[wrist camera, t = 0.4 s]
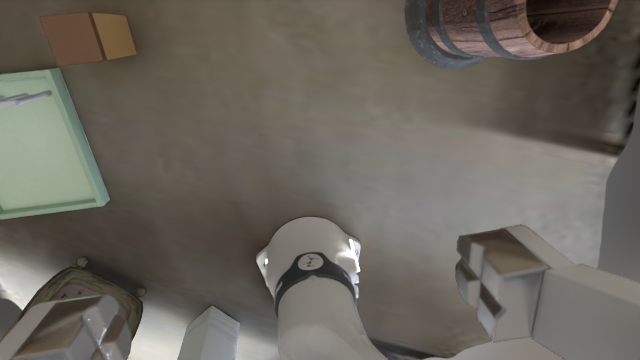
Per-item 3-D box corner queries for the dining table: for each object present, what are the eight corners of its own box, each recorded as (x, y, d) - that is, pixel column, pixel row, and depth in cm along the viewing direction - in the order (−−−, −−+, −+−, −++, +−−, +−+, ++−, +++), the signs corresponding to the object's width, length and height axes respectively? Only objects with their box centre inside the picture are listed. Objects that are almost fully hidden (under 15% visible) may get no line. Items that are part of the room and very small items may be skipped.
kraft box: (137, 55, 47) (103, 61, 38) (100, 58, 47) (57, 66, 37) (125, 15, 45) (87, 11, 36) (87, 18, 45) (38, 16, 35)
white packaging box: (186, 325, 66) (166, 387, 55) (212, 303, 65) (198, 362, 53) (215, 344, 69) (203, 407, 58) (241, 323, 68) (234, 383, 56)
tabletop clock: (157, 287, 62) (87, 436, 39) (130, 318, 64) (49, 477, 41) (78, 246, 57) (-54, 389, 34) (52, 281, 59) (-89, 438, 37)
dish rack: (110, 199, 55) (84, 225, 47) (4, 213, 54) (-40, 242, 46) (59, 67, 46) (18, 74, 39) (-67, 80, 45) (-134, 91, 38)
